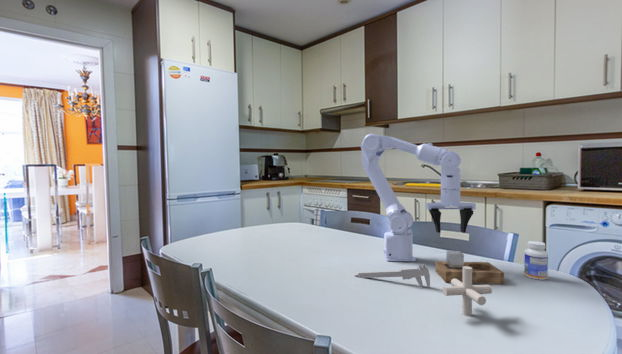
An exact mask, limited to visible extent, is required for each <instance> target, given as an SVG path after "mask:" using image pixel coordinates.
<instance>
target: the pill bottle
mask: <svg viewBox="0 0 622 354" xmlns="http://www.w3.org/2000/svg"><path fill="white" fill-rule="evenodd" d="M527 247H528V248H526V249H524V263H523V264H524V265H523V267H524V268H523V270H524V273H523V274H524V276H525V277H527V278H530V279H532V278H533V280H538V279H539V280H541V281H543V280H544V281H546V280H547V279H548V276H549V275H548V274H549V273H548V271H549V253H548V251H546V243H545V242H542V241H536V240H529V241H528V242H527ZM539 280H538V281H539Z"/></svg>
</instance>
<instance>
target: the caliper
mask: <svg viewBox="0 0 622 354" xmlns="http://www.w3.org/2000/svg"><path fill="white" fill-rule="evenodd" d="M423 276H424V280H425V283H426V287H427V288H428V289H429V288H430V286H431V275H430V272H429V269H428V267H426V264H425V263H423V264H422V265H421V264H420V263H419V264H418V267H412V268H411V267H410V268H409V267H408V268H401V269H400V270H380V271H379V270H378V271H359V272H358V273H356V274H355V275H354V277H356V278H357V277H359V278H362V279H375V278H376V279H377V278H400V277H401V278H402V280H403V281H404V280H411V279H413V278H415V280H416V282H417V284H418V285H419V287H421V288H423V287H424V286H423V280H422V277H423Z"/></svg>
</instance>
